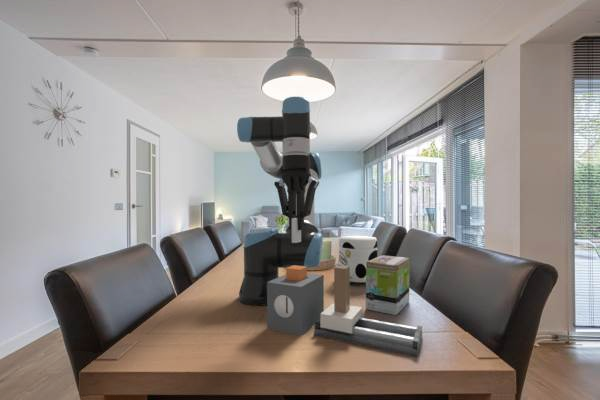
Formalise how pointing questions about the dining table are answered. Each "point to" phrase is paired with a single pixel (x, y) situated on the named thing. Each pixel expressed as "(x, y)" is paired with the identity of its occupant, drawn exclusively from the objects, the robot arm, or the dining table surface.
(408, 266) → the tea box
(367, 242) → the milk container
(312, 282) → the gauge cabinet
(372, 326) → the rail track
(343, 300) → the carriage
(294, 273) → the orange cube
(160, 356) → the dining table surface
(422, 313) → the dining table surface
